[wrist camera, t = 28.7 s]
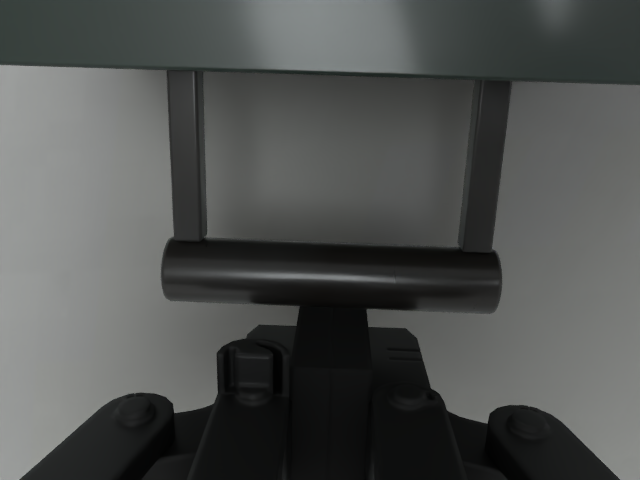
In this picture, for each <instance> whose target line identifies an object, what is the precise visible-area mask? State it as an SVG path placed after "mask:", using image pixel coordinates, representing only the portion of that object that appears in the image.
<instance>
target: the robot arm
mask: <svg viewBox="0 0 640 480" xmlns="http://www.w3.org/2000/svg"><path fill="white" fill-rule="evenodd" d="M217 379H218V394H217V397H216V400H215V403H214V404H212V405H210V406H207V407H204V408H201V409H197V410H193V411H187V412H180V413H174V409H173V403H171V402H170V401H169V400H168V399H167V398H166V397H163V396H160V395H157V394H152V393H136V394H134V393H133V394H128V395H125V396H122V397H119V398H117V399H114V400H112V401H110V402H109V403H107V404H106V405H104V406H103V407H101V408H100V409H99V410H98V411H97V412H96V413H95V414H93V415H92V416H91V417H90V418H89V419H88V420H87V421H85V422H84V423H83V424H82V425H81V426H80V427H79V428H78V429H76V430H75V431H74V432H73V433H72V434H71V435H70V436H68V437H67V438H66V439H65V440H64V441H63V442H62V443H61V444H59V445H58V446H57V447H56V448H55V449H54V450H53V451H51V452H50V453H49V454H48V455H47V456H46V457H45V458H44V459H42V460H41V461H40V462H39V463H38V464H37V465H36V466H35V467H33V468H32V469H31V470H30V471H29V472H28V473H27V474H25V475H24V476H23V477H22V478H21V479H20V480H620V479H619V478H618V477H617V476H616V475H615V474H614V473H613V472H612V471H611V470H610V469H609V468H608V467H607V466H606V465H605V464H604V463H603V462H602V461H601V460H600V459H599V458H598V457H597V456H596V455H595V454H594V453H593V452H592V451H590V450H589V449H588V448H587V447H586V446H585V445H584V444H583V443H582V442H581V441H580V440H579V439H578V438H577V437H576V436H575V435H574V434H573V433H572V432H571V431H570V430H569V429H568V428H567V427H566V426H565V425H564V424H563V423H562V422H561V421H559V420H558V419H557V418H555V417H554V416H552V415H551V414H548V413H546V412H544V411H541V410H539V409H537V408H534V407H528V406H524V405H508V406H504V407H500V408H497V409H495V410H494V411H493V412H492V413H490V416H489V420H488V424H486V423H482V422H477V421H473V420H469V419H466V418H462V417H459V416H457V415H455V414H453V413H450V412H448V411H447V409H446V406H445V403H444V401H443V399H442V397H441V396H440V394H439V393H437V392H436V391H434V390H433V389H431V387H430V383H429V380H428V376H427V373H426V369H425V365H424V362H423V358H422V355H421V352H420V348H419V344H418V340H417V338H416V337H415V336H414V335H412V334H411V333H410V332H409V331H408V330H407V329H406V328H380V327H368V321H367V311H366V309H354V308H329V307H304V306H300V308H299V314H298V320H297V326H281V325H258V326H257V327H256V328H255V329H253V330H252V331H251V332H249V333H248V334H247V337H246V339H241V340H237V341H233V342H230V343H228V344H226V345H224V346H223V347H221V349H220V350H219V351H218V352H217Z"/></svg>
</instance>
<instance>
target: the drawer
mask: <svg viewBox="0 0 640 480" xmlns="http://www.w3.org/2000/svg"><path fill="white" fill-rule="evenodd" d="M0 65H20V66H52V67H83V68H115V69H146V70H167V93H168V115H169V138H170V160H171V182H172V204H173V227H174V237H172V238H170V239H169V240H168V241H167V243H166V246H165V249H164V252H163V257H162V264H161V283H162V289H163V293H164V296H165V298H166V299H168V300H170V301H180V302H205V303H229V304H254V305H279V306H304V307H329V308H354V309H379V310H404V311H429V312H454V313H479V314H491V313H493V312H495V311H496V309H497V307H498V304H499V301H500V297H501V291H502V268H501V262H500V258H499V255H498V253H497V252H496V251H495V250H493V249H492V243H493V235H494V227H495V218H496V210H497V202H498V194H499V185H500V177H501V169H502V161H503V152H504V144H505V136H506V128H507V119H508V111H509V103H510V95H511V86H512V81H525V82H557V83H589V84H620V85H640V0H0ZM203 71H210V72H241V73H273V74H304V75H336V76H367V77H399V78H431V79H462V80H475V81H474V90H473V100H472V110H471V120H470V129H469V139H468V149H467V158H466V168H465V178H464V187H463V197H462V207H461V216H460V226H459V236H458V245H459V246H460V247H441V246H415V245H388V244H362V243H335V242H309V241H283V240H256V239H230V238H204V237H205V236H206V234H207V208H206V171H205V135H204V99H203Z"/></svg>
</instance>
